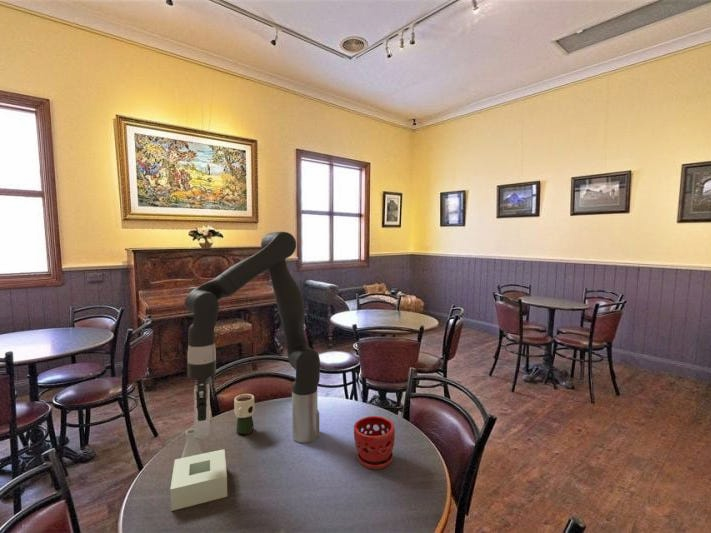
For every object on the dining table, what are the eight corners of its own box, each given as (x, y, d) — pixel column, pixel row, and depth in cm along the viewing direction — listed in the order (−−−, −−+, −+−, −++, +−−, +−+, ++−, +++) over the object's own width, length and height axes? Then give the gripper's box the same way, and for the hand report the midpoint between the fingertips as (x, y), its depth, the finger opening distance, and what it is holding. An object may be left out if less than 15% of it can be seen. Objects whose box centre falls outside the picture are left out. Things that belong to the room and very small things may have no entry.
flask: (194, 469, 112) (193, 438, 111) (174, 466, 113) (173, 435, 112) (208, 455, 119) (207, 426, 118) (189, 453, 120) (188, 424, 120)
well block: (225, 467, 112) (224, 449, 112) (227, 496, 100) (226, 475, 99) (175, 478, 107) (174, 459, 107) (171, 511, 94) (170, 489, 94)
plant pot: (365, 445, 125) (365, 411, 124) (400, 455, 118) (400, 420, 118) (346, 465, 113) (346, 429, 112) (384, 478, 107) (384, 440, 106)
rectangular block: (209, 429, 107) (209, 383, 107) (209, 436, 104) (209, 388, 103) (195, 431, 106) (194, 385, 105) (194, 438, 102) (194, 390, 101)
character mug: (249, 439, 128) (249, 404, 128) (230, 439, 129) (229, 404, 128) (258, 424, 139) (258, 391, 138) (240, 423, 139) (240, 391, 139)
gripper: (215, 365, 98) (216, 425, 99) (215, 351, 111) (215, 404, 112) (185, 368, 96) (186, 430, 96) (189, 353, 109) (189, 408, 110)
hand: (202, 416), depth 104 cm, fingers closed on rectangular block, 4 cm apart
